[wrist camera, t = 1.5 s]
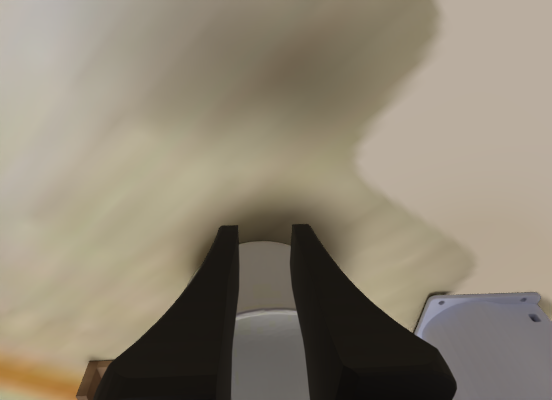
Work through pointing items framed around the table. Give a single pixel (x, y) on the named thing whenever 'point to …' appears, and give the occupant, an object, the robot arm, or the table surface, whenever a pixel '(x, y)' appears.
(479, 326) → the robot arm
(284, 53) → the table surface
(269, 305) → the teacup
